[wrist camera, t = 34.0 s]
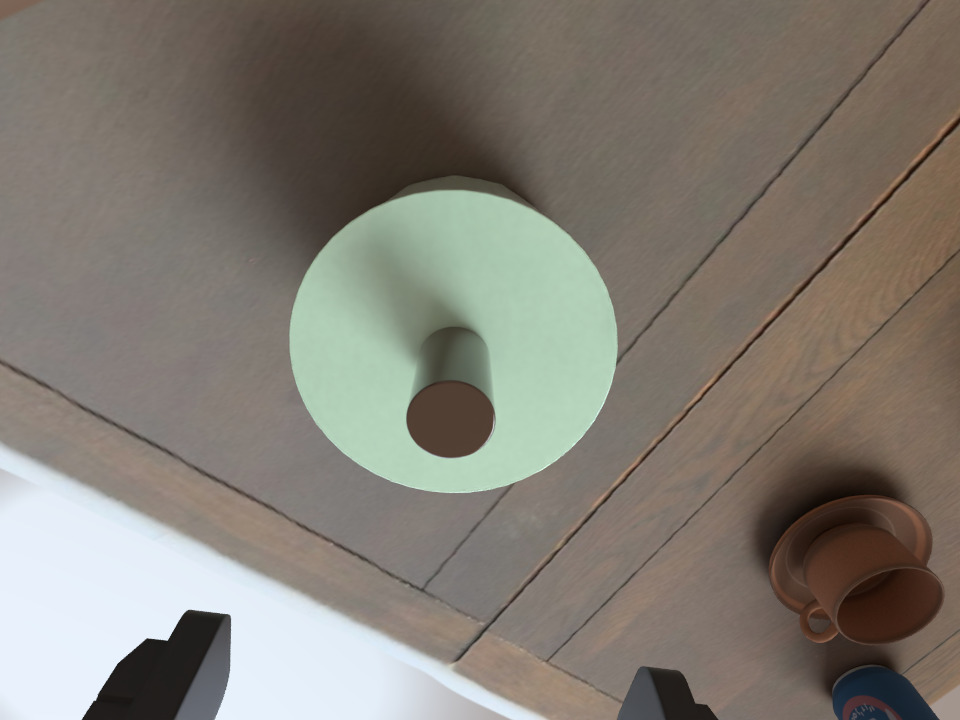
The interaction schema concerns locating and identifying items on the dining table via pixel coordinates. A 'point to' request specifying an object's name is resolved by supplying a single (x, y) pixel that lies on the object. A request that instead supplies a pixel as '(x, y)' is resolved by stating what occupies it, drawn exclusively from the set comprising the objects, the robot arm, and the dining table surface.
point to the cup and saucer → (858, 570)
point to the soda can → (878, 696)
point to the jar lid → (453, 340)
